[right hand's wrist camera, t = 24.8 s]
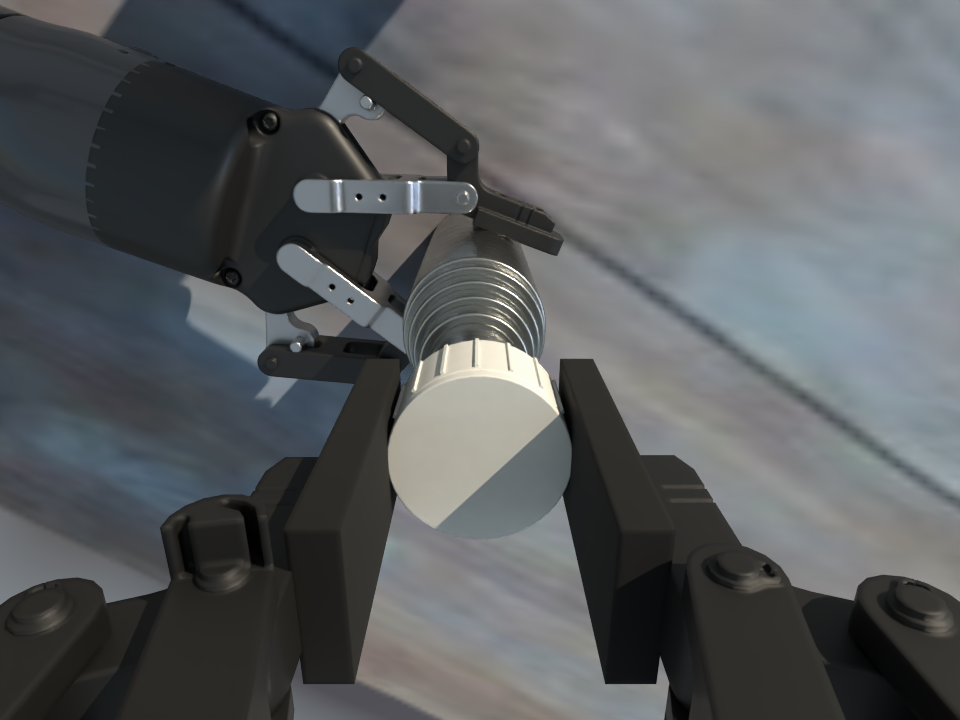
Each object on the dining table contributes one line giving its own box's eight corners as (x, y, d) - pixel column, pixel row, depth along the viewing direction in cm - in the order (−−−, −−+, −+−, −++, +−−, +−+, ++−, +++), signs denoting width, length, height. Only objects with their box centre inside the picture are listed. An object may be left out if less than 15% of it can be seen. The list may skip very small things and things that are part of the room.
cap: (574, 469, 15) (589, 523, 13) (420, 499, 15) (410, 556, 13) (546, 321, 14) (558, 355, 12) (378, 356, 14) (360, 395, 12)
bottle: (431, 297, 33) (379, 501, 15) (427, 207, 31) (363, 317, 14) (519, 296, 33) (571, 497, 15) (520, 205, 31) (578, 313, 14)
